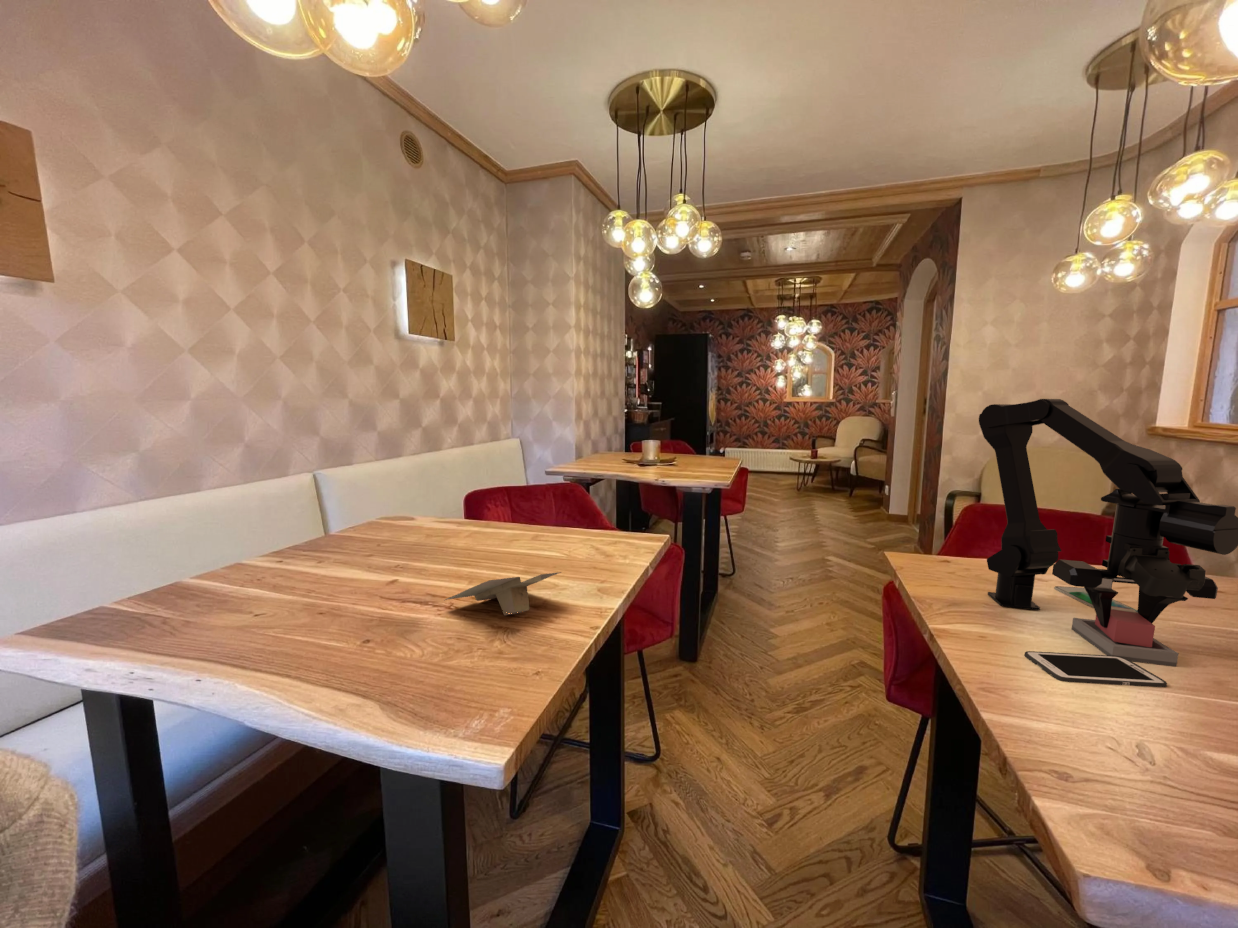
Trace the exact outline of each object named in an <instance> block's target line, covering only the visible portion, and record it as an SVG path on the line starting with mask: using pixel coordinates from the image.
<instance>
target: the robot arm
mask: <svg viewBox="0 0 1238 928" xmlns="http://www.w3.org/2000/svg"><path fill="white" fill-rule="evenodd" d="M1043 424H1044V425H1045V426H1047V427H1048V428H1050V429H1051V430H1053V431H1054V432H1055V433H1056V434H1058V435H1060V436H1061V437H1062V438H1064V439H1066V441H1068V442H1069V443H1071V444H1073V445H1075V446H1076V447H1077V448H1078V449H1080V450H1081V451H1083V452H1084V453H1085V454H1087V455H1088V456H1090V457H1092V458H1093V459H1094V460H1095V461H1096V462H1097V463H1098V464H1099V466H1100V469H1101V471H1102V473H1103V474H1104V475H1105V477H1107V478H1108V480H1110V481H1111V482H1112V483H1113V485H1115V486H1116V487H1117V488H1114V490H1112V491H1111V492H1110V493H1107V494H1106V495H1104V496H1101V497H1100V501H1102V502H1105V503H1109V504H1115V505H1116V506H1115V513H1114V519H1113V526H1112V532H1111V535H1108V534H1107V535H1106V536H1105V542H1106V543H1108V544H1109V545H1110V547H1109V552H1108V558H1107V559H1102V560H1101V561H1102V562H1101V566H1102V567H1105V569H1104V568H1096V567H1094V565H1093V566H1092V565H1091V564H1089V563H1088V562H1085V561H1081V560H1068V559H1059V552H1062V549H1061V547H1060V545H1059V542H1058V540H1059V539H1058V532H1057V530H1056V529H1054V528H1052V529H1047V527H1046V526H1045V525H1044V524H1043V523H1042V521H1041V519H1040V515H1039V509H1038V505H1037V504H1038V503H1037V498H1036V493H1035V488H1034V487H1035V486H1034V483H1033V477H1032V470H1031V466H1030V460H1029V456H1028V450H1027V446H1028V443H1029V441H1030V438H1031V437H1032V434H1033V426H1039V425H1043ZM978 425H979V427H980V430H981V433H982V436H983V438H984V440H986V442H987V443H988V444H989V446H991V448H992V449H993V450H994V453H995V459H996V464H997V468H998V469H997V470H998V475H999V480H1000V481H999V482H1000V486H1001V491H1002V498H1003V503H1004V509H1005V515H1006V520H1007V521H1006V522H1007V524H1006V526H1005V528H1004V531H1003V533H1002V535H1001V539H1000V540H1001V542H1000V543H1001V547H1000V548H1001V549H1000V550H999V551H997V552H996V553H994V554H992V555H991V556H989V557H988V558H986V563H987V568H988V570H989V571H992V572H994V573H997V578H996V587H995V592H992V591H987V595H988V596H989V597H990V598H991V599H992V600H993V601H994V602H996V603H997V604H998V605H999V606H1001V607H1007V608H1018V609H1027V610H1034V611H1035V610H1036V611H1039V610H1040V609H1041V606H1039V605H1038V604H1037V603H1035V602H1033V594H1034V588H1035V586H1034V585H1035V579H1036V576H1037V575H1046V574H1047V572H1048V570H1049V569H1050V567H1052V573H1051V574H1052V575H1053V576H1054V577H1056V578H1058V579H1059V580H1061V581H1063V582H1064V583H1066V584H1067V585H1070V586H1072V587H1073V586H1074V587H1079V588H1085V590H1086V592H1087V593H1088V595H1089V597H1090V599H1091V602H1092V604H1093V607H1094V608H1093V609H1094V612H1095V616H1096V615H1097V617H1098V620H1099V622H1100V625H1101V626H1102V627H1104V628H1107V627H1108V623H1109V619H1110V614H1111V605H1112V599H1113V600H1114V598H1115V597H1117V595H1118V594H1119V592H1118V591H1116V590H1115V589H1114V588H1112V587H1113V583H1121V584H1130V585H1131V584H1132V585H1137V586H1138V600H1137V601H1138V602H1137V610H1138V614H1140V615H1141V616H1142V617H1144V618H1145V619H1146V620H1148V621H1149V622H1150V623H1152V624H1153V623H1154V622H1155V621H1156V620H1157V618H1158V617H1159V616H1160V614H1161V613H1162V612H1163V611H1164V610H1165V609H1166V608H1167V607H1169V606H1170V605H1172V604H1175V603H1177V602H1186V601H1187V600H1188V599H1189V598H1188V597H1187V596H1185V594H1186V593H1187V594H1188V596H1190V597H1192V598H1199V599H1211V600H1215V599H1217V596H1218V589H1219V587H1218V586H1217V584H1216V582H1215V581H1214V580H1213V579H1212V578H1210V577H1207V576H1206V569H1204V568H1203V567H1202V566H1201V565H1200V564H1189V563H1188V564H1187V563H1184V564H1181V563H1176V562H1174V563H1173V562H1171V560H1170V553H1171V552H1170V551H1169V549H1170V548H1169V547H1167V546H1165V545H1163V543H1164V538H1165V539H1166V541H1167V542H1168V543H1171V544H1174V545H1177V546H1178V545H1179V546H1181V547H1182V546H1183V547H1189V548H1193V549H1196V550H1199V551H1206V552H1210V553H1214V554H1219V555H1224V556H1225V555H1228V554H1231V553H1232V552H1234V551H1235V550H1236V549H1237V548H1238V516H1236V515H1235V514H1236V509H1237V508H1236V507H1235V506H1233V505H1229V504H1228V505H1227V504H1212V503H1205V502H1201V500H1200V498H1199V497H1198V496H1197V495H1196V493H1195V491H1194V490H1193V489H1192V487H1191V486H1190V485H1189V484H1188V482H1187V481H1186V479H1185V478H1184V476H1183V466H1181V464H1180V463H1179V462H1178V461H1176V460H1175V459H1174V458H1172V457H1169V456H1168V455H1167V456H1166V455H1165V454H1162V453H1161V452H1157V451H1154V450H1152V449H1149V448H1146V447H1143V446H1140V445H1136V444H1133V443H1130V442H1128V441H1125V440H1123V439H1122V438H1121V437H1119V436H1118V435H1116V434H1114V433H1113V432H1111V431H1110V430H1108V429H1106V428H1105V427H1103V426H1102V425H1100V424H1098V423H1097V422H1096V421H1094V420H1093V419H1091V418H1090V417H1088V416H1086V415H1085V414H1083V413H1082V412H1080V411H1078V410H1076V409H1075V408H1073V407H1072V406H1071V405H1069V403H1068V402H1067V401H1066V400H1064V399H1061V398H1039V399H1036V400H1032V401H1027V402H1022V403H1016V404H1015V403H1014V404H1013V403H1012V404H1009V403H1008V404H1006V403H1005V404H1003V403H1002V404H1000V403H998V404H996V403H993V404H989V405H987V406H986V407H985V408H983V410H982V412H981V413H980V414H978Z"/></svg>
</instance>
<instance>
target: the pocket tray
mask: <svg viewBox="0 0 1238 928" xmlns="http://www.w3.org/2000/svg"><path fill="white" fill-rule="evenodd" d="M1071 630H1072V631H1073V632H1075V633H1076V634H1077V635H1079V636H1080V637H1082V638H1083V639H1084V640H1086V641H1087V642H1088V643H1089V644H1091V645H1092V646H1094V647H1095V648H1096V649H1098V650H1099V651H1101V652H1102V653H1103V655H1109V656H1120V657H1124V658H1126V659H1128V660H1130V661H1132V662H1133V663H1135V662H1136V663H1144V664H1153V665H1159V666H1168V667H1169V666H1170V667H1177V665H1178V658H1179V652H1177V651H1175V650H1174V649H1172V648H1171V647H1169V646H1168V645H1166V644H1164V643H1162V642H1160V641H1159V640H1157V639H1155V638H1154V637H1153V643H1152V648H1151V647H1144V646H1138V645H1132V644H1126V643H1119V642H1114V641H1113V640H1112V639H1111V638H1109V637H1108V636H1107V635H1106V634H1105V633H1104V632H1103V631H1102V630H1101V629H1100V628H1099V627H1098V626H1097V625H1095V619H1089V618H1081V617H1080V618H1079V617H1072V623H1071Z"/></svg>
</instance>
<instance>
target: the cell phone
mask: <svg viewBox="0 0 1238 928" xmlns="http://www.w3.org/2000/svg"><path fill="white" fill-rule="evenodd" d="M1024 657H1025V658H1026V659H1027V660H1029V661H1030V662H1032V664H1034V665H1035V666H1036V665H1037V666H1039V667H1040V668H1041V670H1042V671H1043V672H1045V673H1046V674H1048V675H1049V676H1050V677H1052V678H1053V679H1055V680H1057V681H1060V682H1064V683H1065V682H1066V683H1079V684H1095V685H1097V684H1099V685H1114V686H1132V687H1146V688H1147V687H1148V688H1149V687H1150V688H1167V687H1168V683H1167V681H1165V680H1164V679H1162V678H1161V677H1159V676H1158V675H1156V674H1155V673H1152V672H1151V671H1149V670H1147V669H1145V668H1144V667H1142V666H1140V665H1139V664H1136V663H1135V662H1134V661H1130V660H1128V659H1126V658H1124V657H1120V656H1109V655H1106V654H1091V653H1090V654H1089V653H1073V652H1072V653H1069V652H1054V651H1053V652H1051V651H1033V650H1032V651H1030V650H1029V651H1028V650H1026V651H1025V652H1024Z"/></svg>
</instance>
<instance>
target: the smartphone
mask: <svg viewBox="0 0 1238 928" xmlns="http://www.w3.org/2000/svg"><path fill="white" fill-rule="evenodd" d="M1053 589H1054V590H1055V591H1057V592H1059V593H1061V594H1064V595H1065V596H1067V597H1069V598H1071V599H1074V600H1076V601H1077V602H1080V603H1081V604H1084V605H1086V606H1088V607H1090V608H1092V609H1094V607H1093V604H1092V602H1091V599H1090V597H1089V595H1088V593H1087V592H1086V590H1085V588H1084V587H1079V586H1074V587H1073V586H1059V585H1057V586H1054V587H1053ZM1111 606H1114V607H1121V608H1128V609H1133V610H1135V611H1137V612H1138V609H1136V608H1134V607H1131V606H1129V605H1127V604H1124V603H1122V602H1120V601H1118V600H1115V599H1114V598H1113V599H1112V605H1111Z"/></svg>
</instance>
